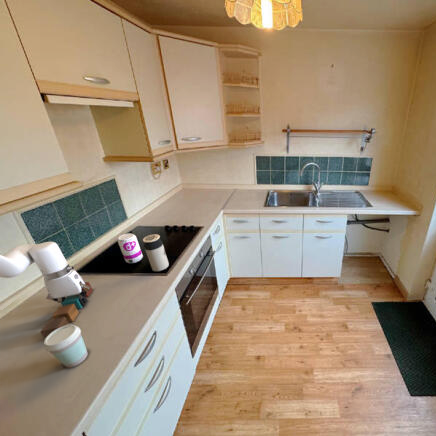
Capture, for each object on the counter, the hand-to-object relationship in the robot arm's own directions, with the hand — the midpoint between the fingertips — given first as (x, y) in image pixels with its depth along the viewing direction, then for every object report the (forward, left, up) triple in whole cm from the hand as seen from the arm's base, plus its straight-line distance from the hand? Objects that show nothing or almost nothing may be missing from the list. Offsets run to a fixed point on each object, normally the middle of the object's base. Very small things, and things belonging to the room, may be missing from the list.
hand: (76, 305), depth 97 cm
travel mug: (+30, +17, -1) cm, 35 cm away
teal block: (0, 0, 0) cm, 0 cm away
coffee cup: (+11, -29, -1) cm, 31 cm away
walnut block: (0, -14, 0) cm, 14 cm away
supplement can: (+15, +30, -1) cm, 34 cm away
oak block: (0, -7, 0) cm, 7 cm away
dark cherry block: (0, +7, 0) cm, 7 cm away
